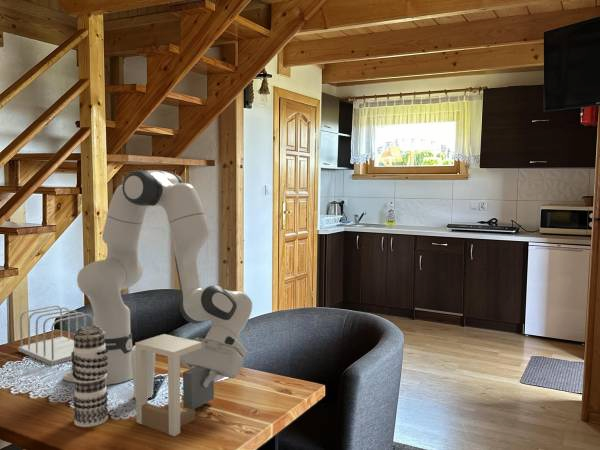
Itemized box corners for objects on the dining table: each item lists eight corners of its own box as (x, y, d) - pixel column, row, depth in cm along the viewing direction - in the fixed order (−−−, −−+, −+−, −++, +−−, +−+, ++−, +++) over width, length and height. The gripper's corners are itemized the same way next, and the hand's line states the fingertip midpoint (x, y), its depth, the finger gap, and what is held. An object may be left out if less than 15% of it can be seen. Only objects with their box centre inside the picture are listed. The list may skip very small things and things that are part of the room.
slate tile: (205, 396, 155) (205, 363, 154) (213, 399, 153) (213, 365, 152) (183, 407, 147) (182, 372, 147) (191, 410, 146) (191, 374, 145)
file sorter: (17, 351, 199) (16, 310, 198) (62, 341, 213) (61, 303, 212) (51, 366, 184) (50, 321, 183) (97, 353, 198) (96, 312, 197)
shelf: (168, 407, 150) (168, 332, 149) (206, 419, 143) (205, 340, 141) (136, 422, 140) (135, 342, 139) (174, 436, 133) (173, 352, 131)
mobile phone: (205, 364, 185) (234, 374, 175) (205, 367, 185) (234, 377, 175) (187, 369, 179) (215, 381, 169) (187, 372, 179) (215, 384, 169)
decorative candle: (102, 409, 148) (101, 321, 146) (114, 421, 141) (112, 328, 139) (68, 418, 143) (66, 326, 141) (78, 430, 135) (76, 334, 134)
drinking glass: (142, 403, 152) (142, 352, 151) (126, 398, 156) (126, 348, 155) (160, 396, 158) (159, 346, 157) (144, 391, 162) (144, 342, 161)
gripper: (188, 330, 160) (164, 371, 153) (242, 342, 149) (219, 386, 142) (199, 341, 164) (176, 382, 157) (251, 353, 154) (229, 397, 146)
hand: (197, 384), depth 149 cm, fingers closed on slate tile, 3 cm apart
